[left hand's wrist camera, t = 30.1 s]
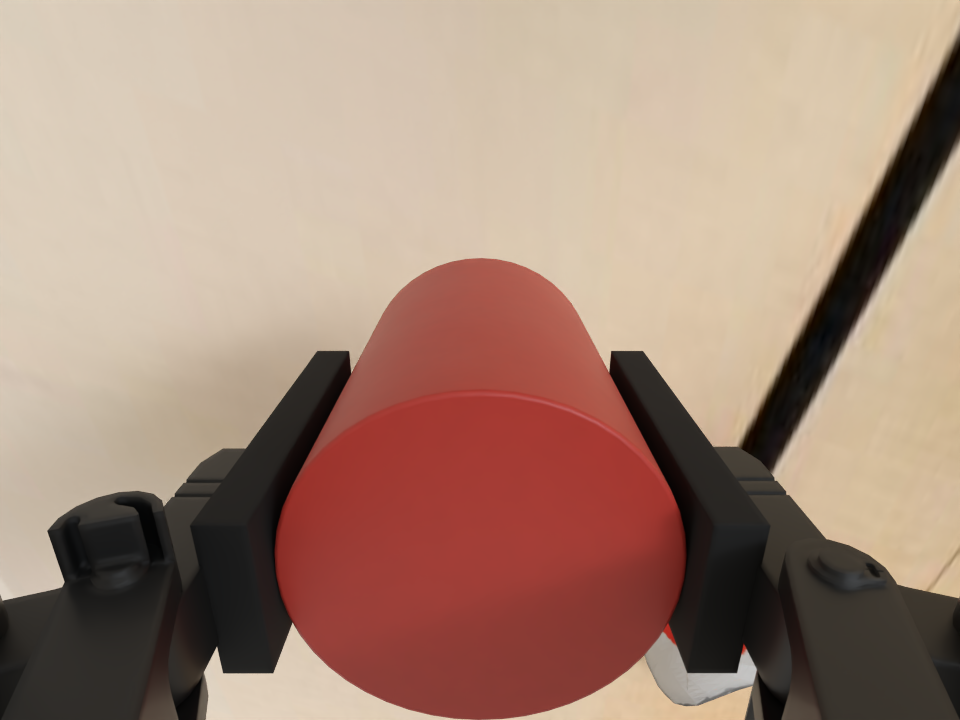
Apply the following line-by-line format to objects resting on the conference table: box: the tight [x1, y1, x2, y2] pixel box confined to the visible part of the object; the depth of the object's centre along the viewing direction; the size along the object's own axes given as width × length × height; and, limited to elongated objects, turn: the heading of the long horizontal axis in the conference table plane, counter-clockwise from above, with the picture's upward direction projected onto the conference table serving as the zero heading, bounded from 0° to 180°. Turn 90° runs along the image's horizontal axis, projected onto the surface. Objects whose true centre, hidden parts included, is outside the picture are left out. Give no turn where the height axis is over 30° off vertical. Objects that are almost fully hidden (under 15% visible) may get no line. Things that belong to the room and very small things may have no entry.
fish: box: [645, 624, 757, 706], centre depth 30 cm, size 11×16×10 cm
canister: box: [274, 258, 687, 720], centre depth 13 cm, size 6×6×8 cm
